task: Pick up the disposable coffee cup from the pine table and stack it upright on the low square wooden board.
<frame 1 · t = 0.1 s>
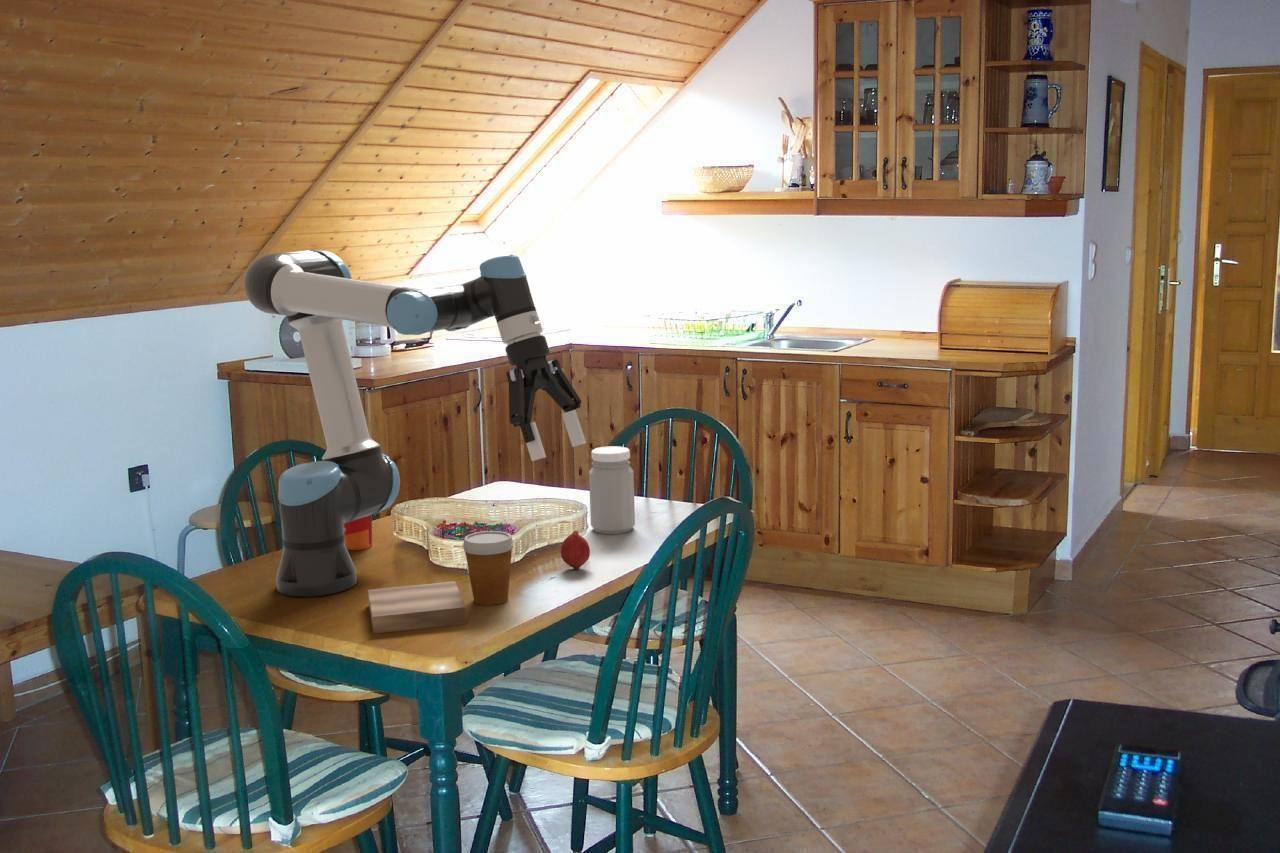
hand: (559, 452, 235), 28 cm above the table, tool tilted 20°, fingers open, 13 cm apart
jar: (613, 530, 288), on the table
onion: (576, 570, 259), on the table
square wooden board: (416, 614, 234), on the table
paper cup: (358, 547, 279), on the table
disposable coffee cup: (491, 600, 241), on the table
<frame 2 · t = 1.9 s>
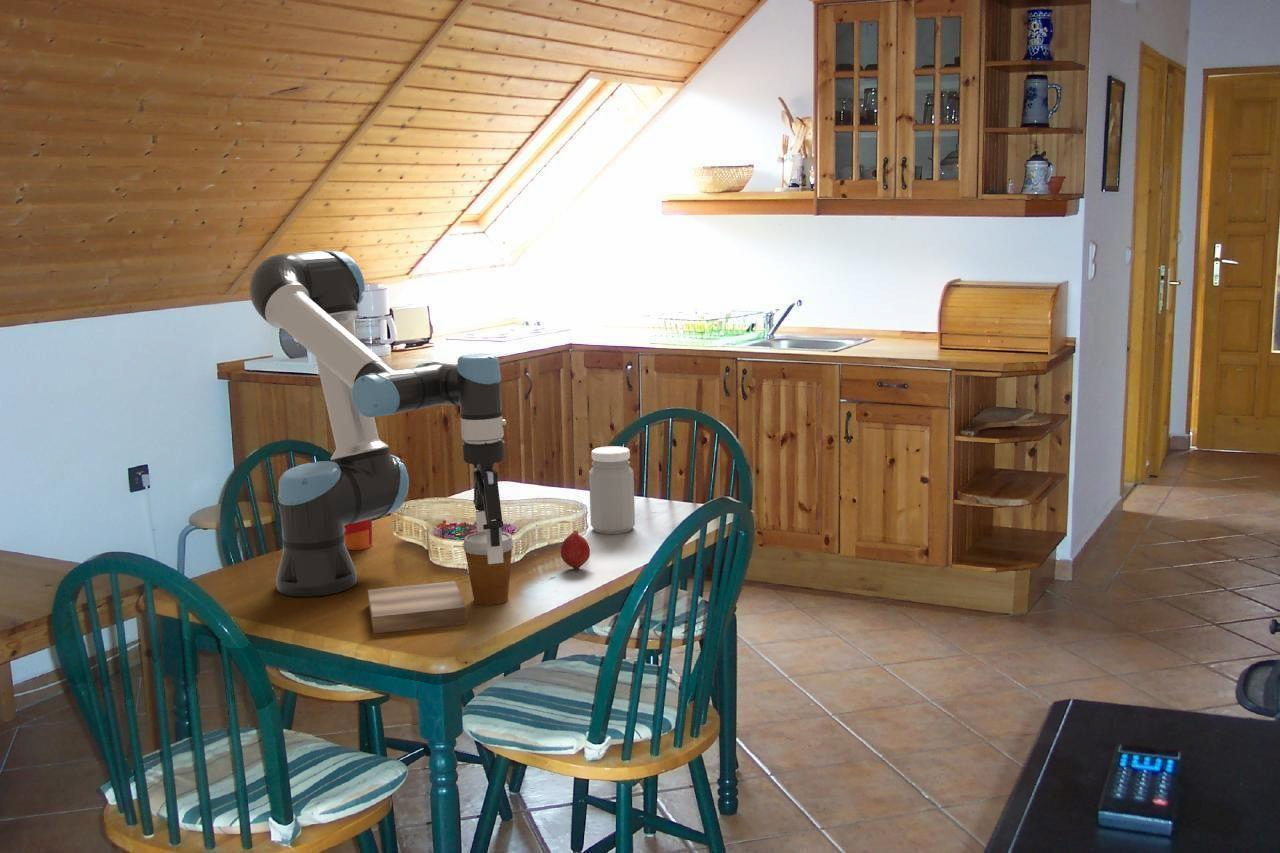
hand: (490, 553, 239), 9 cm above the table, tool pointing down, fingers open, 13 cm apart
nothing on the table moved.
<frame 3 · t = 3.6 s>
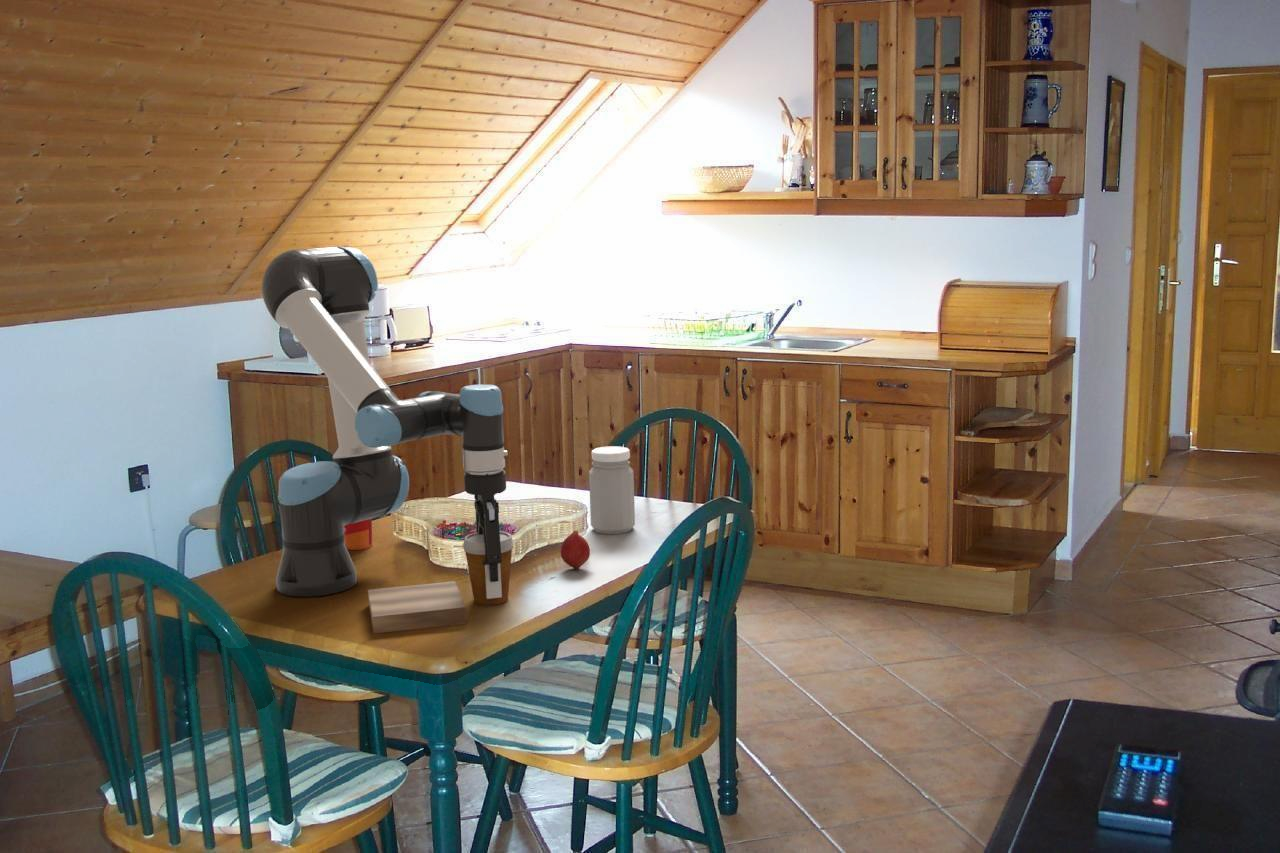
hand: (490, 590, 241), 2 cm above the table, tool pointing down, fingers closed on disposable coffee cup, 8 cm apart
disposable coffee cup: (491, 600, 241), on the table, touching gripper
everything else where it was.
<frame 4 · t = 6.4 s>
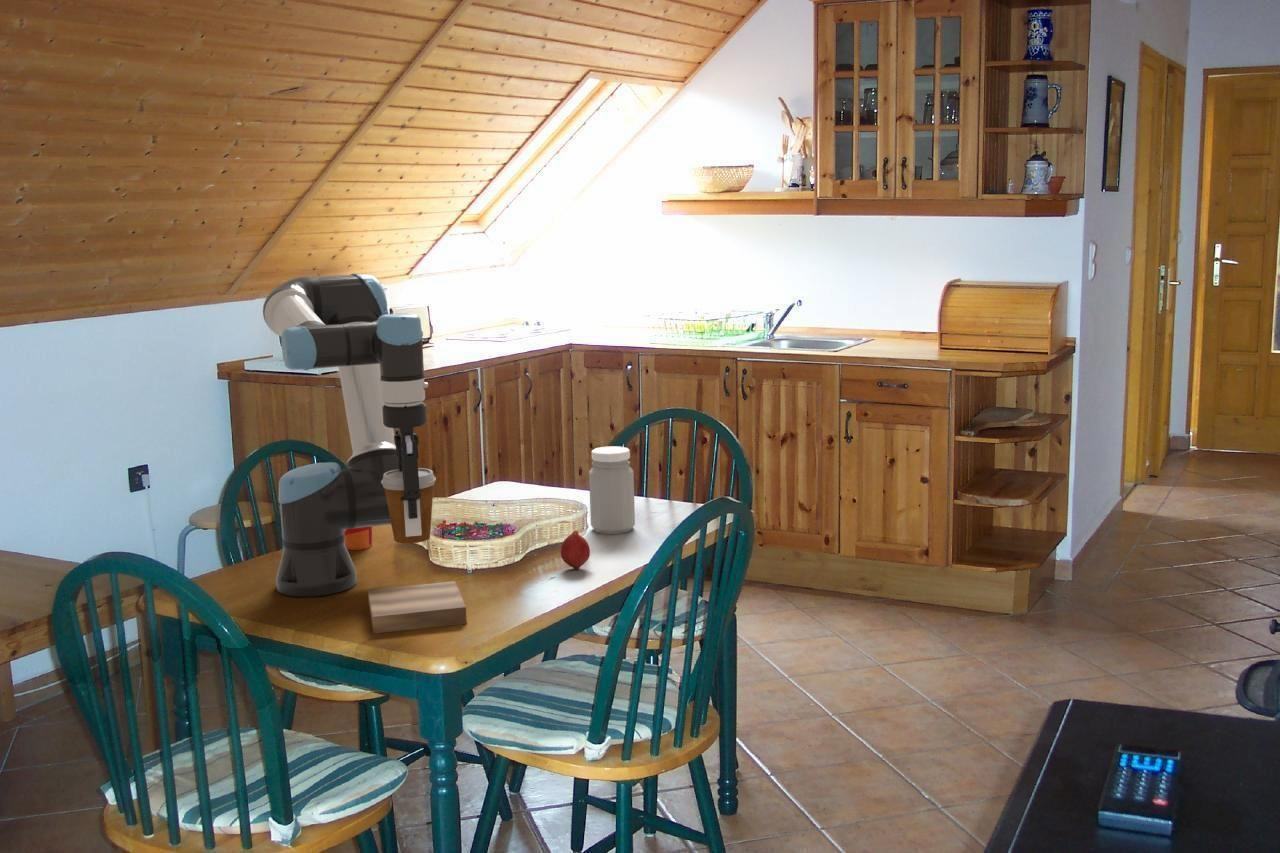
hand: (411, 529, 231), 16 cm above the table, tool pointing down, fingers closed on disposable coffee cup, 8 cm apart
disposable coffee cup: (412, 540, 231), point 14 cm above the table, touching gripper
everything else where it was.
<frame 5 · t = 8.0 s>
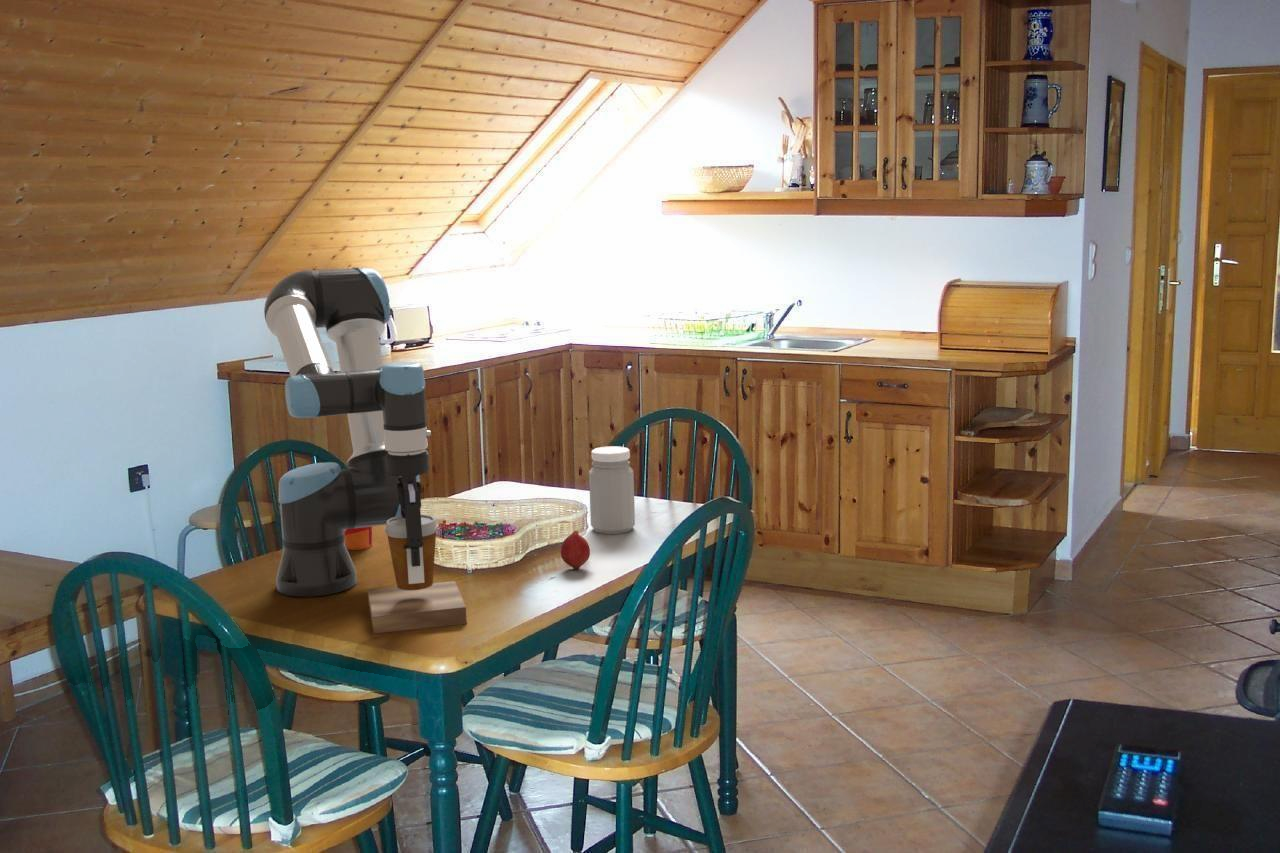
hand: (414, 575, 232), 7 cm above the table, tool pointing down, fingers closed on disposable coffee cup, 8 cm apart
disposable coffee cup: (415, 586, 233), point 5 cm above the table, touching gripper
everything else where it was.
when the fingers open (5 cm above the table, at t = 9.4 s): disposable coffee cup stays where it is, resting on square wooden board.
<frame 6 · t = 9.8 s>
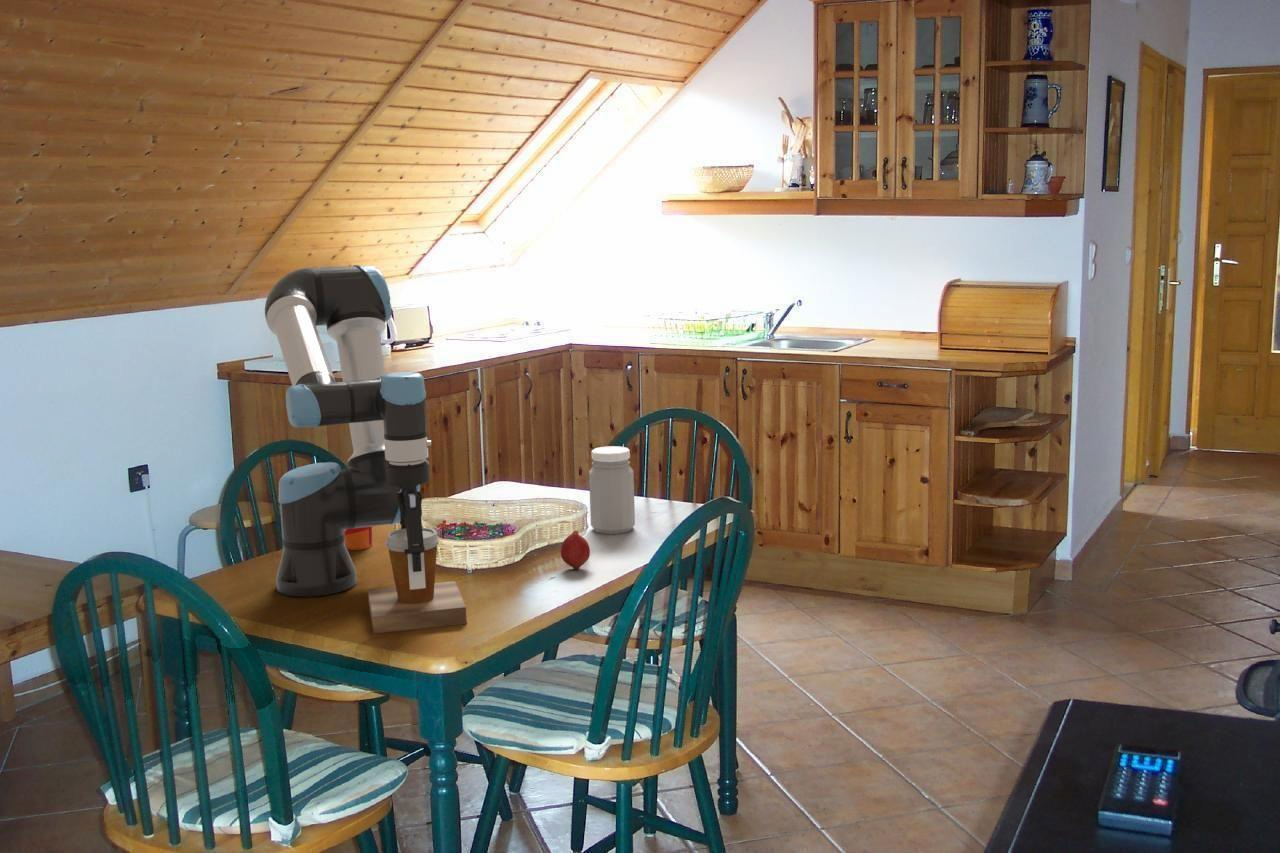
hand: (414, 577, 232), 7 cm above the table, tool pointing down, fingers open, 13 cm apart
disposable coffee cup: (416, 599, 233), point 3 cm above the table, touching square wooden board
everything else where it was.
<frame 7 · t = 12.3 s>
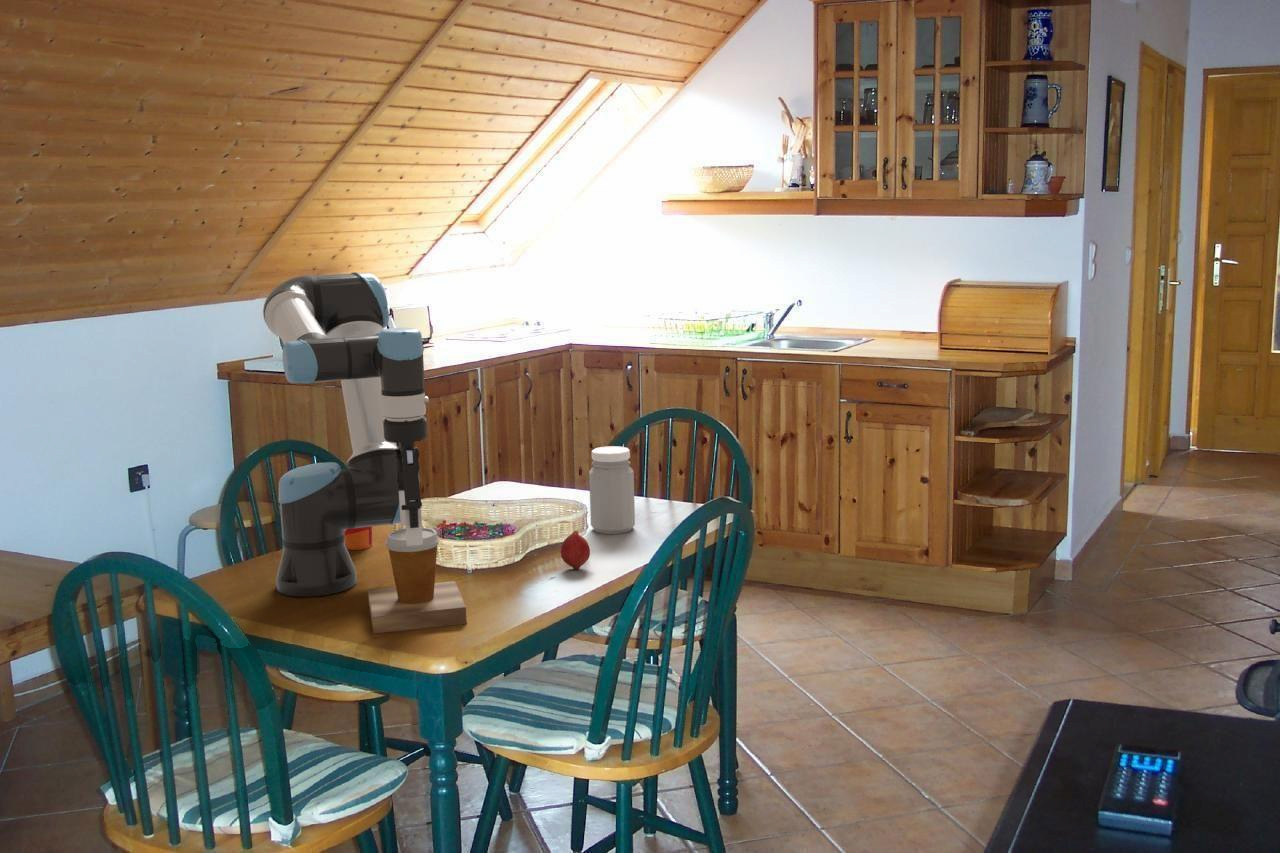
hand: (411, 534, 231), 15 cm above the table, tool pointing down, fingers open, 13 cm apart
nothing on the table moved.
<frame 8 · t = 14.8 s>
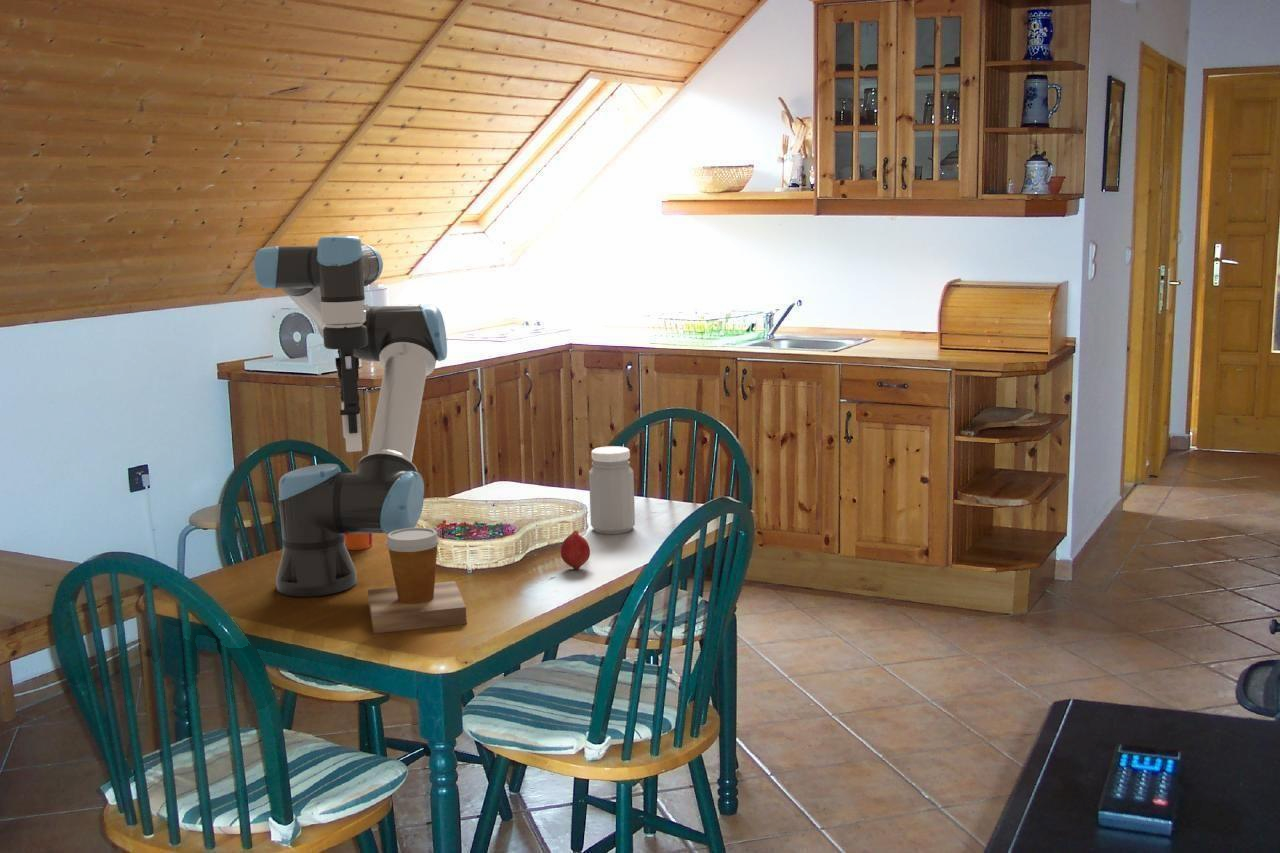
hand: (352, 444, 232), 31 cm above the table, tool pointing down, fingers open, 13 cm apart
nothing on the table moved.
at the end: disposable coffee cup inside the target area on the square wooden board (0.2 cm from its centre), point 2.8 cm above the square wooden board's base; disposable coffee cup tilted 0°; the gripper is holding nothing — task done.
